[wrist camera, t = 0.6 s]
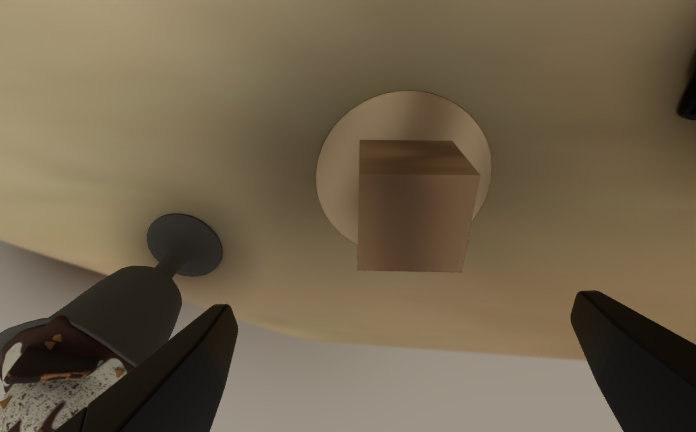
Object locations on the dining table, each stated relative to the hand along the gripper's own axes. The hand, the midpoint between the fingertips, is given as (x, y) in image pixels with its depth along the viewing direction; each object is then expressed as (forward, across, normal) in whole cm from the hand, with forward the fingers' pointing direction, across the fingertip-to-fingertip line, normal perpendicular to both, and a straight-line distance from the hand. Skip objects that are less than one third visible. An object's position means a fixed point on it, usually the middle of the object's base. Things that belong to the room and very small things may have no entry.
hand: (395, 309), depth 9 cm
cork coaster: (+12, -1, +2) cm, 12 cm away
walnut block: (+12, -1, +2) cm, 12 cm away
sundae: (+12, +13, +5) cm, 19 cm away
